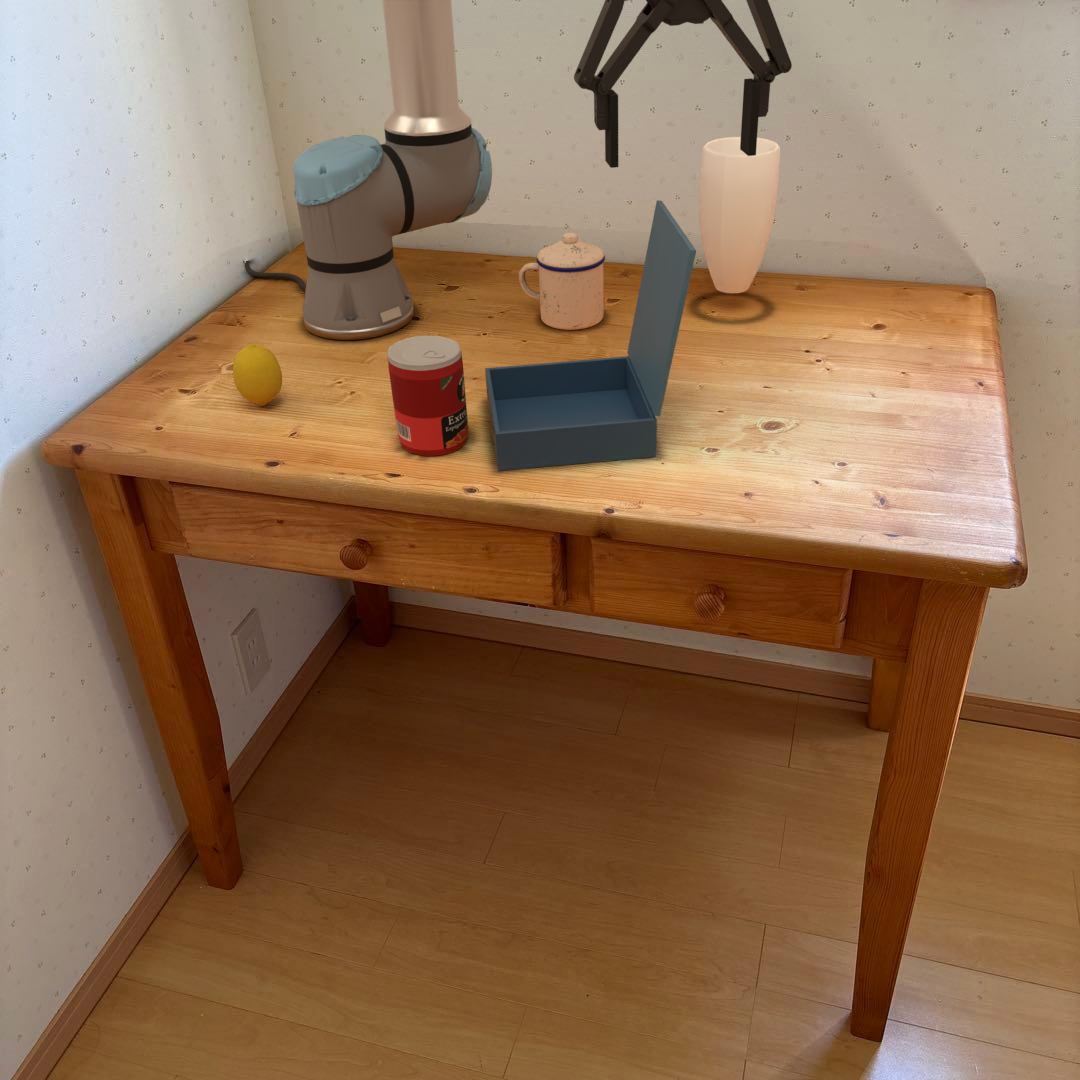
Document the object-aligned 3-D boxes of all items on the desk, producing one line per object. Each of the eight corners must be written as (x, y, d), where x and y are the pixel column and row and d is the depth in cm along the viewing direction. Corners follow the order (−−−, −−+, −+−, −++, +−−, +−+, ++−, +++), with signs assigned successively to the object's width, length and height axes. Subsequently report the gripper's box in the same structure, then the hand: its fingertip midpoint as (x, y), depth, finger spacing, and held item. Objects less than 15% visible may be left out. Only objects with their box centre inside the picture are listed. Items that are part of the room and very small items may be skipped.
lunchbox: (498, 471, 111) (495, 433, 108) (487, 402, 124) (484, 368, 122) (656, 456, 112) (657, 419, 110) (629, 390, 125) (629, 355, 123)
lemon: (247, 420, 123) (233, 357, 118) (235, 402, 127) (221, 340, 122) (293, 409, 125) (280, 346, 120) (280, 391, 129) (268, 330, 124)
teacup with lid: (613, 308, 146) (613, 225, 139) (594, 334, 139) (593, 248, 132) (532, 301, 150) (528, 219, 143) (509, 325, 143) (504, 241, 136)
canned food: (459, 460, 113) (450, 366, 107) (389, 455, 115) (376, 362, 108) (477, 426, 119) (469, 336, 113) (410, 421, 121) (399, 332, 115)
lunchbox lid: (690, 249, 100) (696, 250, 100) (656, 200, 113) (662, 200, 113) (654, 416, 109) (659, 416, 109) (627, 352, 122) (632, 353, 123)
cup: (780, 301, 146) (795, 140, 134) (750, 327, 139) (764, 160, 127) (711, 288, 151) (720, 132, 139) (679, 313, 144) (685, 151, 131)
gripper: (551, -84, 86) (560, 179, 98) (843, -103, 88) (817, 157, 100) (538, -90, 92) (548, 159, 104) (811, -107, 95) (790, 138, 106)
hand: (680, 158), depth 102 cm, fingers open, 13 cm apart
